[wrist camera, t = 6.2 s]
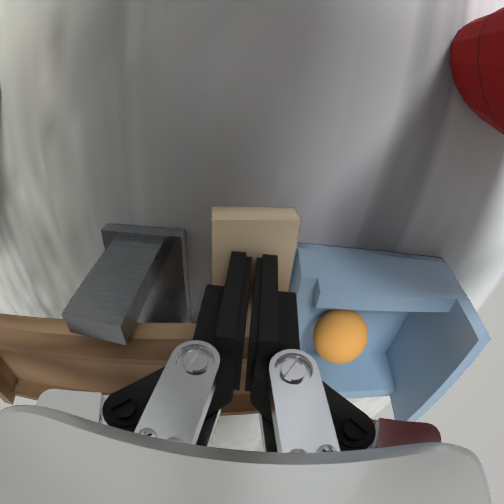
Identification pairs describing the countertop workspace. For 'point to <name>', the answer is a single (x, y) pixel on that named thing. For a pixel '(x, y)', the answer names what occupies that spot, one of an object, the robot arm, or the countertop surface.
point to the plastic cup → (481, 67)
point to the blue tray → (389, 323)
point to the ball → (340, 336)
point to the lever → (144, 334)
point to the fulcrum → (132, 284)
